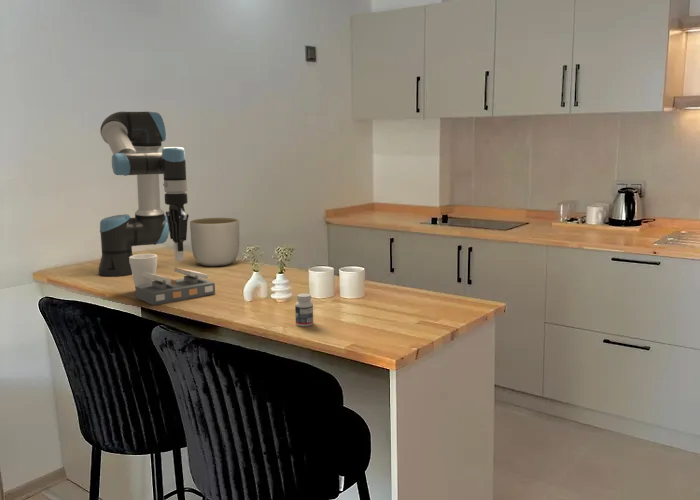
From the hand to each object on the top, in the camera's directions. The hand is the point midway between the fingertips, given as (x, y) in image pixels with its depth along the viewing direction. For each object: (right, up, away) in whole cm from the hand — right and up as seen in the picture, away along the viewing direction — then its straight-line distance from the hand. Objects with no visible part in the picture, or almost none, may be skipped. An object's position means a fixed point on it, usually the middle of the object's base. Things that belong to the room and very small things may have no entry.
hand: (179, 260), depth 227 cm
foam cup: (-14, -12, +7) cm, 20 cm away
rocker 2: (+3, -5, +4) cm, 7 cm away
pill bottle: (+46, -19, -34) cm, 60 cm away
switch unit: (-1, -12, +1) cm, 13 cm away
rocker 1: (-6, -7, -4) cm, 10 cm away
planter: (+1, -3, +57) cm, 57 cm away
